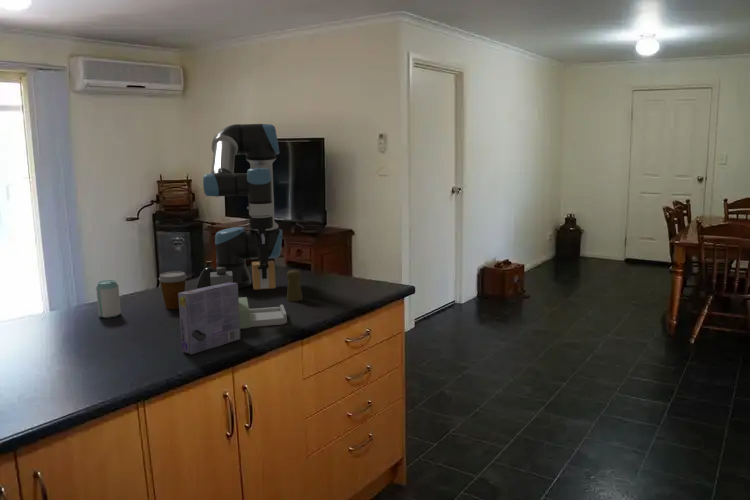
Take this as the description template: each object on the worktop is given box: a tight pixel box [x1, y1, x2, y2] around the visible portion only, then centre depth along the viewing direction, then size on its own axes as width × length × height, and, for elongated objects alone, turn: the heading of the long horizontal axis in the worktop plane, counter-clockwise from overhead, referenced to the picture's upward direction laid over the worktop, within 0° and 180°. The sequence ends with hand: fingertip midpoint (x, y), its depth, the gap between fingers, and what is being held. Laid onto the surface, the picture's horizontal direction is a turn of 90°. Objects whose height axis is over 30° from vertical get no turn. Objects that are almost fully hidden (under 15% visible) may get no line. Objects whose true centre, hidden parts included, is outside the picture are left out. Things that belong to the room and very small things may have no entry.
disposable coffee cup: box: [158, 271, 187, 310], centre depth 228 cm, size 10×10×12 cm
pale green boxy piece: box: [210, 267, 288, 330], centre depth 209 cm, size 16×26×18 cm, turn 104°
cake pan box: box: [178, 283, 241, 356], centre depth 186 cm, size 19×5×18 cm, turn 141°
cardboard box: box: [251, 260, 277, 290], centre depth 209 cm, size 6×7×8 cm
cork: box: [286, 269, 304, 302], centre depth 236 cm, size 6×6×11 cm
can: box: [95, 279, 122, 319], centre depth 217 cm, size 7×7×12 cm
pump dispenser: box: [196, 266, 216, 289], centre depth 224 cm, size 10×10×15 cm
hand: (263, 285), depth 210 cm, fingers closed on cardboard box, 6 cm apart
